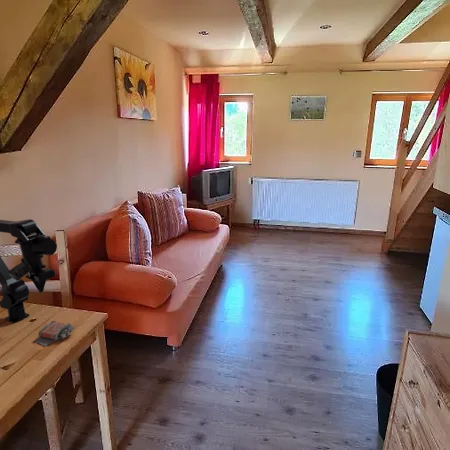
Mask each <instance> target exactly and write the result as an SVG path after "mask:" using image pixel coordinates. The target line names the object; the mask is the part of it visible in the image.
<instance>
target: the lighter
mask: <svg viewBox="0 0 450 450" xmlns="http://www.w3.org/2000/svg"><path fill="white" fill-rule="evenodd" d="M75 329H76V327H75V325H74V326H73V325H72V324H71V323H64V322H60V321H56V320H52V321H50V322H48V323H46V324H45V325H44V326H43V327H42V328H41V329H40V330H39V331H38V334H37V335H38V337H39V338H41V337H42V338H43V337H45V338H50V339H55V340H56V341H60V340H61V339H65V338H67V337H69V336H70V334H71V333H72V332H73V331H74V330H75Z"/></svg>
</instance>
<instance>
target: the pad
mask: <svg viewBox="0 0 450 450" xmlns="http://www.w3.org/2000/svg"><path fill="white" fill-rule="evenodd" d="M55 341H57V340H55V339H50V338H45V337H43V338H42V337H39V338H38V339H36V340H34V342H35V343H36V344H39V345H42V346H43V347H47V346H49V345H51V344H52V343H54V342H55Z"/></svg>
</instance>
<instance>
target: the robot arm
mask: <svg viewBox="0 0 450 450" xmlns="http://www.w3.org/2000/svg"><path fill="white" fill-rule="evenodd" d="M0 233H6V234H10V235H11V236H12V237H13V238H16V239H15V240H14V244H19V248H20V252H21V254H22V255H21V256H22V257H21V258H20V263H19V264H16V265H15V266H14V267H13V268H10V269H9V267H8V266H7V264H6V262H5V261H4V260H3V258H2V257H1V255H0V285H1V296H2V298H1V300H0V308H1V309H6V310H7V316H5V317H4V319H5V320H6V321H8V322H11V323H13V324H15V323H17V322H19V321H22V320H23V319H26V318H27V317H29V316H30V314H29V313H27V312H26V310H25V306H24V302H25V301H29V294H30V290H29V286H28V285H27V284H26V283H25V280H23V279H22V278H23V277H24V278H26V279H28V280H30V281H32V283H33V284H34V286H35V288H36V289H37V290H38V293H43V292H44V289H45V286H46V282H47V280H49V279H52V278H55V277H56V276H57V273H56V271H55V269H52V268H49V267H47V266H46V264H44V263H43V260H42V258H44V256H51V255H54V254H55V253H56V251H57V249H58V244H57V242H56V241H55V240H54V239H53V238H51V236H50V235H46V233H45V232H44V231H43V229H41V227H40V226H39V225H38V224H37V223H36V222H35V220H33V219H23V220H16V221H15V220H5V219H0Z"/></svg>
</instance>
